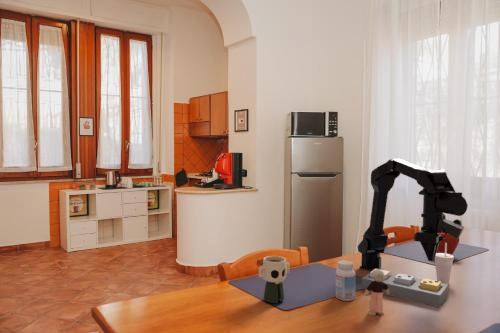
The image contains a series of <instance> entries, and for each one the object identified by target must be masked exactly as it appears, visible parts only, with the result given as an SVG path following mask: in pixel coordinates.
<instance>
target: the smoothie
mask: <svg viewBox="0 0 500 333" xmlns="http://www.w3.org/2000/svg"><path fill="white" fill-rule="evenodd" d="M454 260H455V256H454V254H452V255H450V254H447V243H445V253H436V256H435V259H434V264H435V274H436V281H441V283H444V284H449V283H450V278H451V273H452V268H453V261H454Z"/></svg>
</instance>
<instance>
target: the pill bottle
mask: <svg viewBox="0 0 500 333" xmlns="http://www.w3.org/2000/svg"><path fill="white" fill-rule="evenodd" d="M337 267H338V268H337V269H336V270H335V297H336V298H338V300H339V299H340V300H341V301H342V302H343V301H344V302H349V301H351V302H352V301H354V300H355V298H356V272H355V269H354V262H353V261H351V260H339V261H338V262H337Z"/></svg>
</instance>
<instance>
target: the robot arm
mask: <svg viewBox="0 0 500 333" xmlns="http://www.w3.org/2000/svg"><path fill="white" fill-rule="evenodd" d="M401 175H404V176H406V177H408V178H411V179H412V180H415V181H416V183H417V185H419V186H420V187H421V188H422V189H421V190H420V191H419V192H418V195H420V196H423V199H422V200H423V201H422V203H423V204H422V209H423V210H422V213H420V216H421V218H422V226H420V230H419V231H417V232H415V233H414V234H413V241H414V242H419V243H420V245H421V247H422V248H423V251H424V253H425V255H426V257H427V260H428V262H433V260H434V261H435V256H436V252H437V249H438V246H439V243H440V242H441V241H442V240H443V239H445V237H443V236H441V234H439V233H445V235H448V234H450V235H452V236H453V237H455V238H459V239H460V237H461V235H462V233H463V231H464V229H465V227H464V225H462V223H463V222H462V220H460V219H458V218H455V220H453V221H452V220H449V219H447V218H446V217H447V216H446V214H447V215H453V216H457V217H461V216H464V215H465V214H466V212H467V210H468V203H467V200H466V199H465V197H463V192H462V191H456V190H455V188H454V186H453V184H452V182H451V181H450V179H449V177H448V174H447V172H446V171H445V170H442V169H434V168H424V167H421V166H419V165H417V164H413V163H411V162H408V161H407V160H404V159H402V158H391V159H388V160H387V161H386V162H385V163H383V164H380V165H378V166H377V167H376V168H374V169H373V170H372V171H371V172H370V184H371V187H372V188H373V196H372V197H373V198H372V205H371V212H370V213H371V214H370V221H369V226H368V228H367V229H366V230H365V231H364V233H363V237H362V240H361V241H360V242H359V244H358V245H357V250H358V253H361V265H359V269H362V270H363V269H364V270H368V271H373V270H374V269H380V270H381V268H382V257H381V254H384V253H385V248H386V247H387V245H388V240H389V238H388V237H389V236H388V234H386V232H385V230H384V224H385V218H386V211H387V203H388V195H389V192H390V191H391V189H392V188H393V187H394V185H395V181H396V179H397V178H398V177H400V176H401Z"/></svg>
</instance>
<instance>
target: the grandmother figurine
mask: <svg viewBox="0 0 500 333" xmlns="http://www.w3.org/2000/svg"><path fill="white" fill-rule="evenodd" d="M381 270H382V269H380V270H379V269H376V270H374V271H373V272H372V277H373V278H374V280H375V281H372V282H371V283H370V284H369V286H368V287H367V288H366V290H364V291H365V292H364V293H363V295H364V296H365V297H368V295H369V294H370V292H371V295H370V298H369V307H368V309H369V310H368V311H367V312H368V315H369V316H376V315H383V316H384V314H385V313H384V308H383V307H384V305H383V301H384V300H383V296H384V294H383V289H384V290H385V291H386V293H387V294H389V293H390V291H389V289H388V286H387V285H386V284H385V283H384V282H382V279H383V277H384V273H383V272H382V271H381ZM387 294H386V295H387Z"/></svg>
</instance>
